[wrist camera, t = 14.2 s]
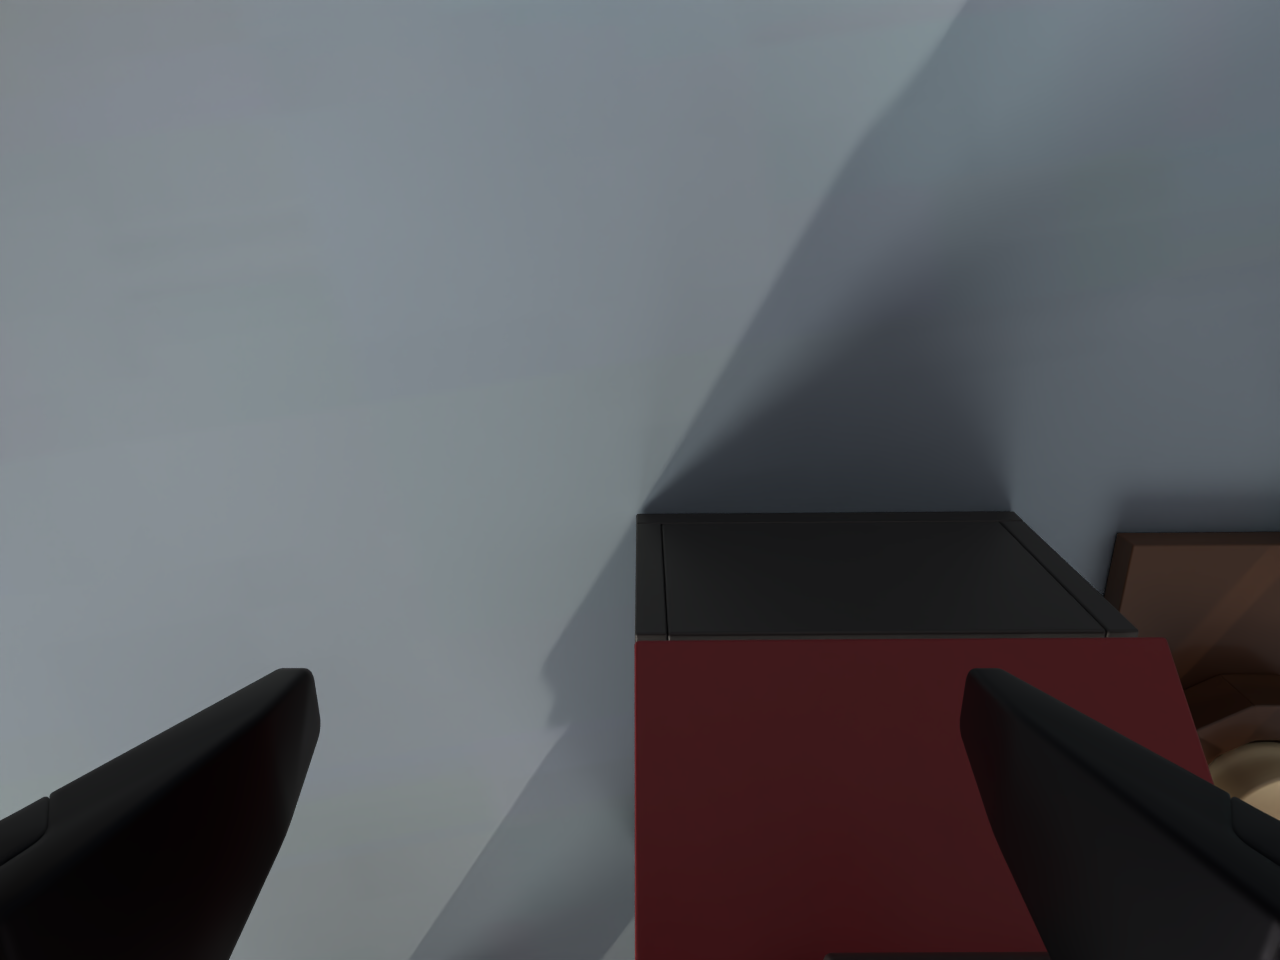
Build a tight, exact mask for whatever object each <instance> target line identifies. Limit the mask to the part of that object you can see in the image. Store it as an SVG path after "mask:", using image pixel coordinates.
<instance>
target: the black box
mask: <svg viewBox="0 0 1280 960" xmlns="http://www.w3.org/2000/svg"><path fill="white" fill-rule="evenodd" d="M1138 633H1139V631H1138V629H1137V628H1136V627H1135V626H1134V625H1133V624H1132V623H1130V622H1129V621H1128V620H1127V619H1126V618H1125V617H1124V616H1123V615H1122V614H1121V613H1120V612H1119V611H1118V610H1117V609H1116V608H1115V607H1114V606H1112V605H1111V604H1110V603H1109V602H1108V601H1107V600H1106V599H1105V598H1104V597H1103V596H1102V595H1101V594H1100V593H1099V592H1098V591H1097V590H1096V589H1094V588H1093V587H1092V586H1091V585H1090V584H1089V583H1088V582H1087V581H1086V580H1085V579H1084V578H1083V577H1082V576H1081V575H1080V574H1079V573H1078V572H1076V571H1075V570H1074V569H1073V568H1072V567H1071V566H1070V565H1069V564H1068V563H1067V562H1066V561H1065V560H1064V559H1063V558H1062V557H1061V556H1060V555H1058V554H1057V553H1056V552H1055V551H1054V550H1053V549H1052V548H1051V547H1050V546H1049V545H1048V544H1047V543H1046V542H1045V541H1044V540H1043V539H1042V538H1040V537H1039V536H1038V535H1037V534H1036V533H1035V532H1034V531H1033V530H1032V529H1031V528H1030V527H1029V526H1028V525H1027V524H1026V523H1025V522H1023V520H1022V519H1021V518H1020V517H1019V516H1018V515H1016V514H1015V513H1014V512H872V513H730V514H637V516H636V596H635V643H636V642H637V641H652V640H806V639H959V638H1112V637H1138Z"/></svg>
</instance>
